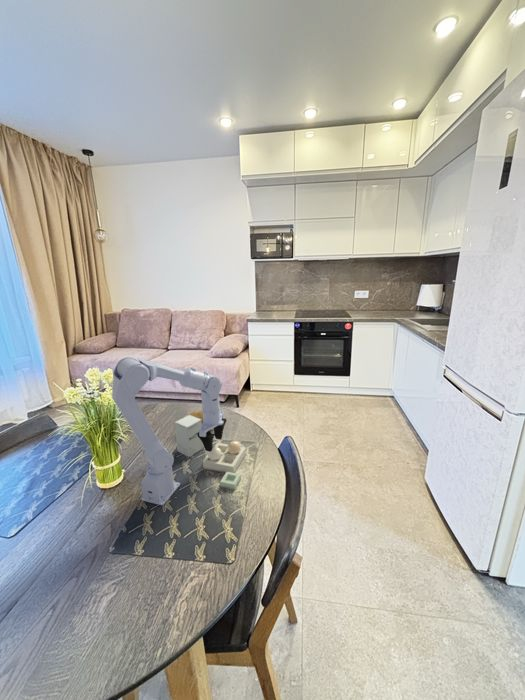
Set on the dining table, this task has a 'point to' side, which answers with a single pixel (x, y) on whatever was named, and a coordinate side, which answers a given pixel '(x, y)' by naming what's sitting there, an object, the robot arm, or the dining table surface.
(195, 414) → the potato
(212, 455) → the cream egg
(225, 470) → the carton
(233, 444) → the brown egg
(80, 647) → the dining table surface
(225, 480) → the mint square frame
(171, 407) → the dining table surface
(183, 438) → the supplement box
